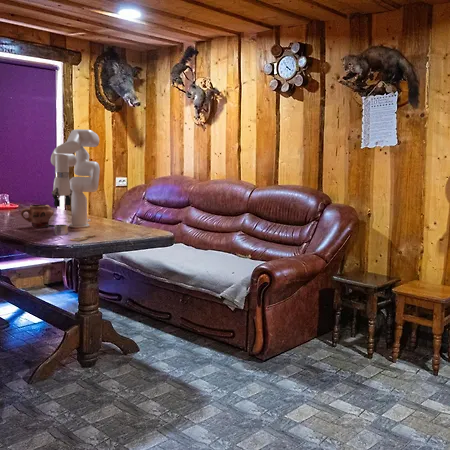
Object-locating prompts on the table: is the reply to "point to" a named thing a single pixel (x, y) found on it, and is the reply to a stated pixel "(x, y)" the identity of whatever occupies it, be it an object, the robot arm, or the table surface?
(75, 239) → the spatula
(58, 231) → the saucepan
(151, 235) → the table surface
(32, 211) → the brown ceramic pot
